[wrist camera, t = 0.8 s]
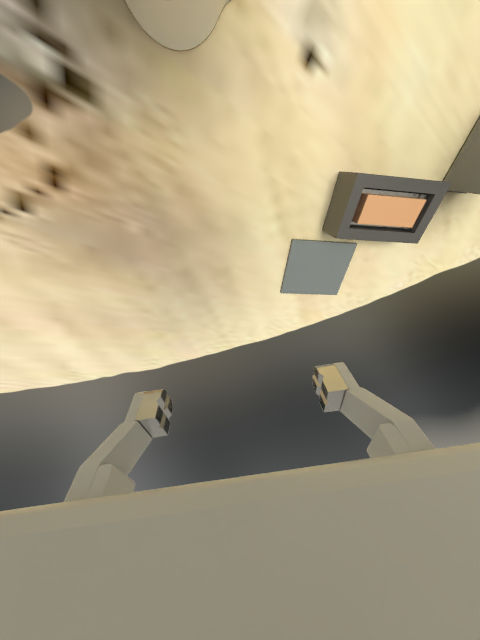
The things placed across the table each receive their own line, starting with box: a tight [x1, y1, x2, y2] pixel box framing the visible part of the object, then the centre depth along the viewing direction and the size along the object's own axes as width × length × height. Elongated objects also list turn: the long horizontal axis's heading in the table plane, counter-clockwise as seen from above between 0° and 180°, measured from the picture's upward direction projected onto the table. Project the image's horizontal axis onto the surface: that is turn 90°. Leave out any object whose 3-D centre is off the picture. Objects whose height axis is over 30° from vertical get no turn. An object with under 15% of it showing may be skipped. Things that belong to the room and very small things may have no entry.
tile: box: [352, 193, 426, 228], centre depth 42 cm, size 12×5×2 cm, turn 85°
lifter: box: [350, 189, 426, 230], centre depth 43 cm, size 13×6×2 cm, turn 85°
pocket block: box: [322, 172, 452, 243], centre depth 44 cm, size 19×11×7 cm, turn 85°
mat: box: [280, 239, 357, 295], centre depth 54 cm, size 14×16×1 cm
